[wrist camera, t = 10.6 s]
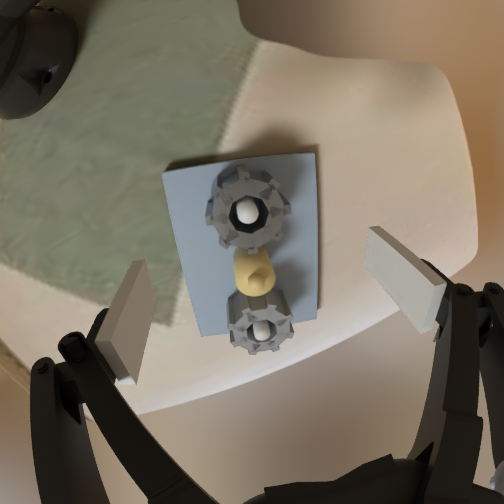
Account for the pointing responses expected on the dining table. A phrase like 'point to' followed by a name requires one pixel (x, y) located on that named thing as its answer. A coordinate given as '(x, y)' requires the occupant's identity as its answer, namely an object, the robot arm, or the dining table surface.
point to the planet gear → (229, 223)
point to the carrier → (248, 265)
